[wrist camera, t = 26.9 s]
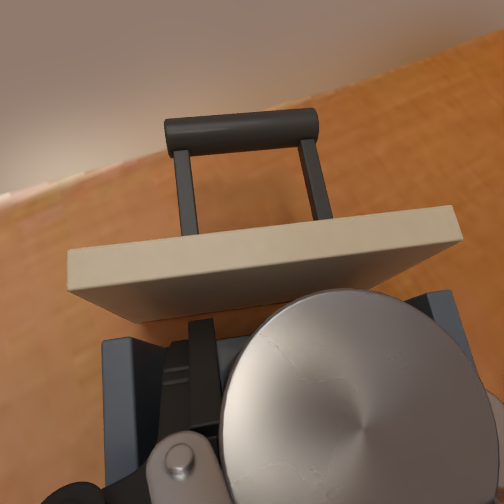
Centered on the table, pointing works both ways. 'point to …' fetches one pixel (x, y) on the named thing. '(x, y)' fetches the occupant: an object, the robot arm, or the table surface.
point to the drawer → (240, 268)
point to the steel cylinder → (355, 409)
